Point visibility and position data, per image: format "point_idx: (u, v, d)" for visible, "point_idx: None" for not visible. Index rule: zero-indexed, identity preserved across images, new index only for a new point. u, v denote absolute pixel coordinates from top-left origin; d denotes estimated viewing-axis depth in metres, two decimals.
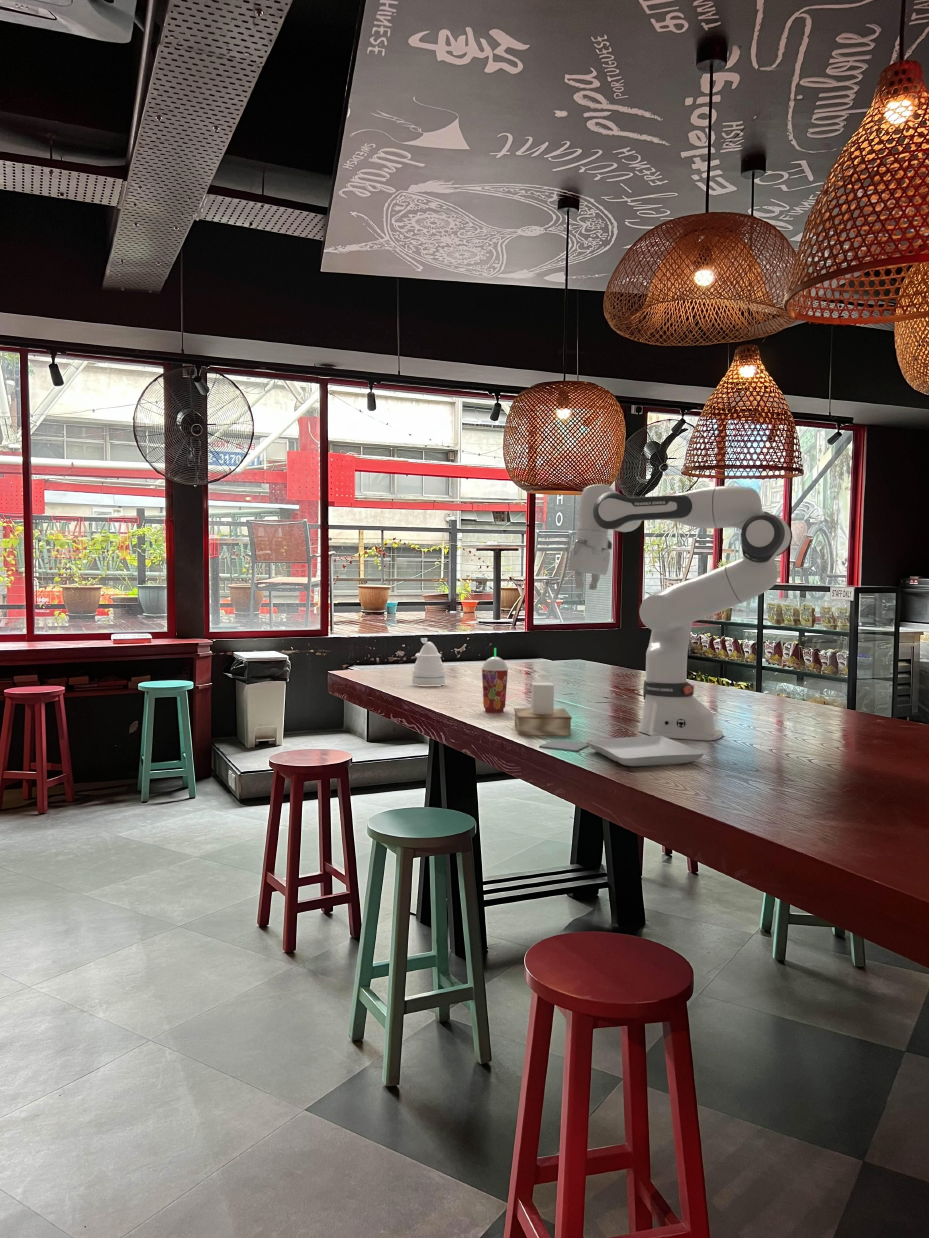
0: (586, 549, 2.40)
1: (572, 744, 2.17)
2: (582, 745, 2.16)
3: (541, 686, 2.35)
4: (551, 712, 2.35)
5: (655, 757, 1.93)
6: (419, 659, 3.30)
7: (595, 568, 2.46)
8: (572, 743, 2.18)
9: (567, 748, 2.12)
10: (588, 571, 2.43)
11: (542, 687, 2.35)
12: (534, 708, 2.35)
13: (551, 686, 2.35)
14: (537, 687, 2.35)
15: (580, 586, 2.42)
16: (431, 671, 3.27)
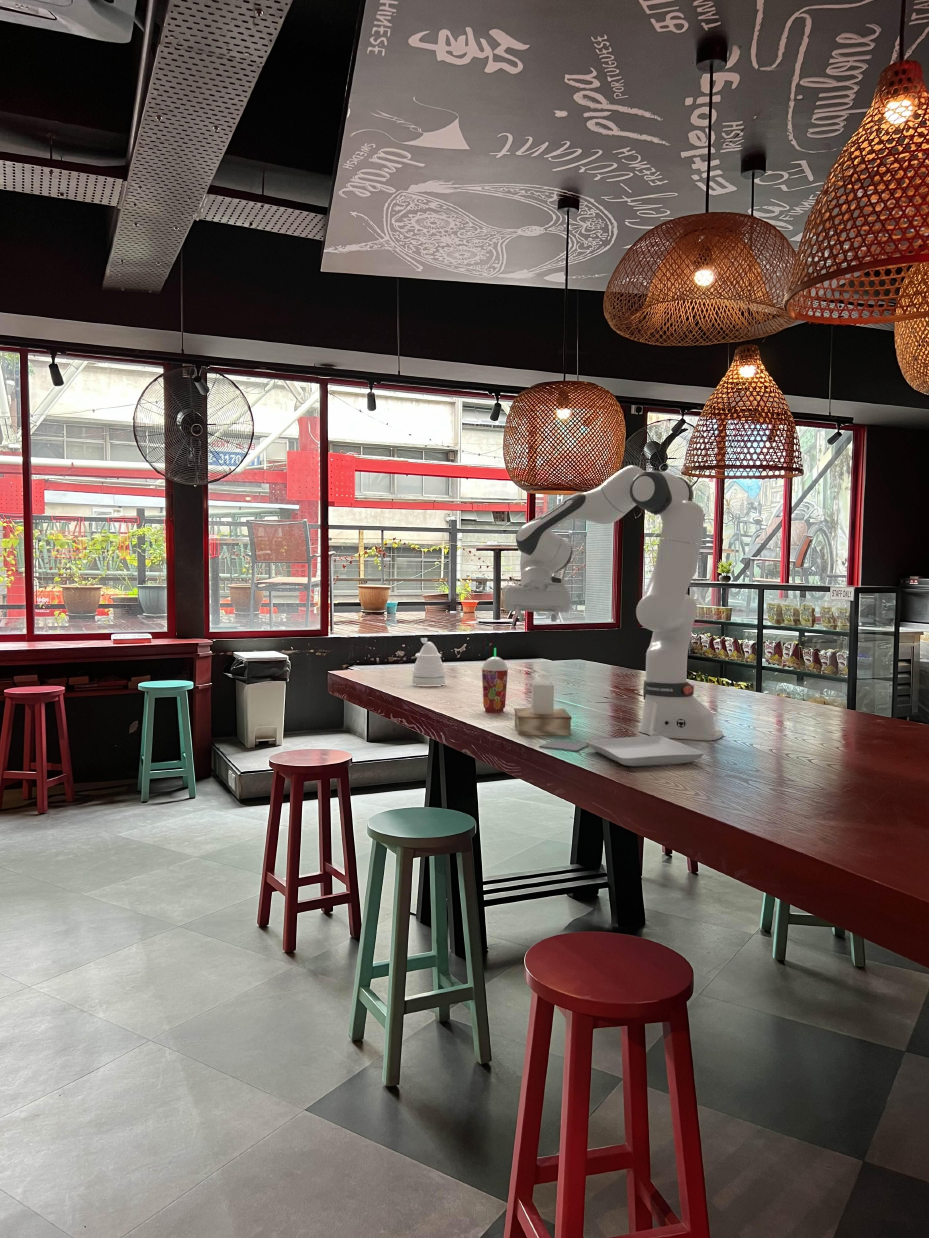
0: (514, 587, 2.58)
1: (572, 744, 2.17)
2: (582, 745, 2.16)
3: (541, 686, 2.35)
4: (551, 712, 2.35)
5: (655, 757, 1.93)
6: (419, 659, 3.30)
7: (539, 600, 2.55)
8: (572, 743, 2.18)
9: (567, 748, 2.12)
10: (526, 603, 2.54)
11: (542, 687, 2.35)
12: (534, 708, 2.35)
13: (551, 686, 2.35)
14: (537, 687, 2.35)
15: (519, 616, 2.52)
16: (431, 671, 3.27)
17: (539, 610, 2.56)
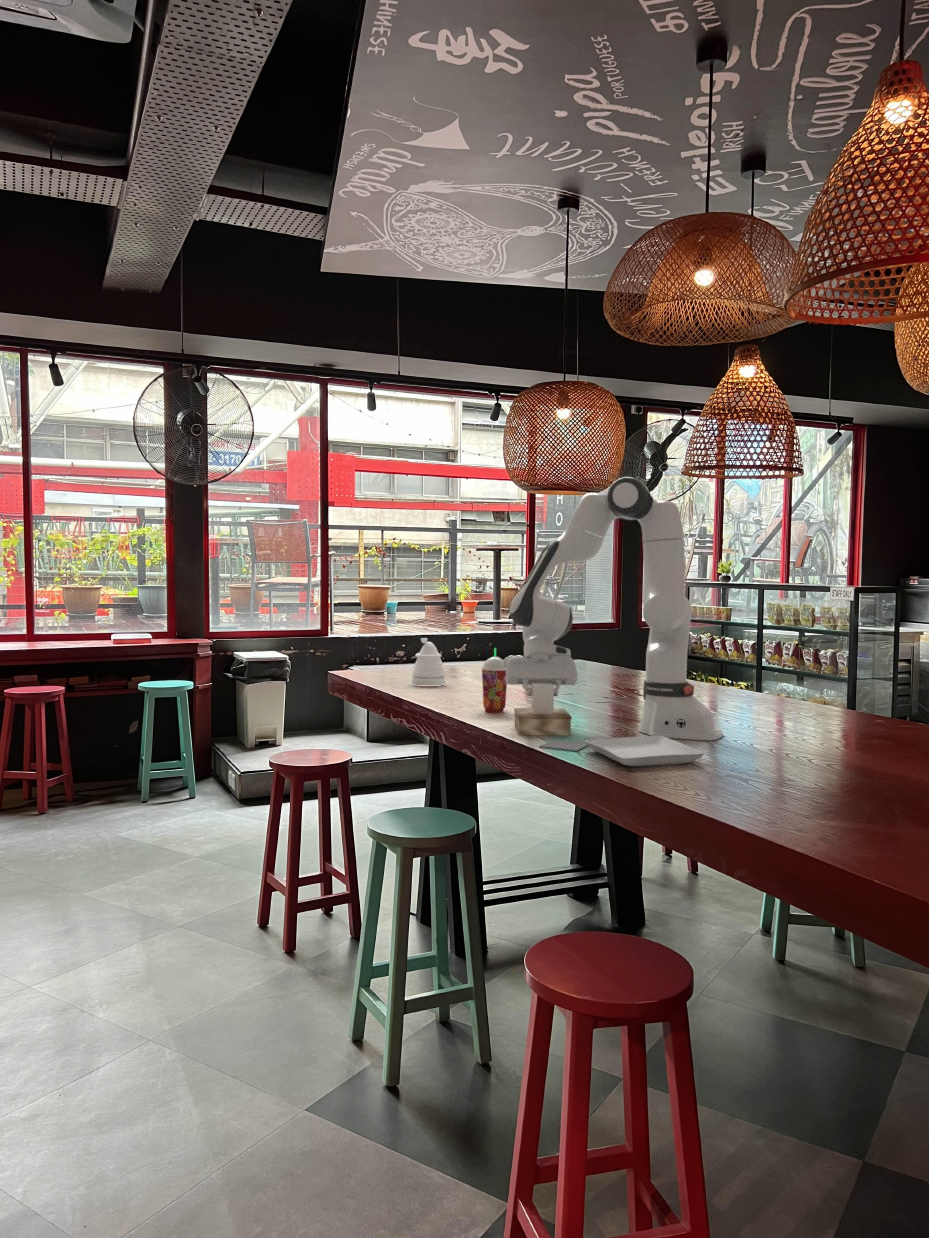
0: (517, 659, 2.43)
1: (572, 744, 2.17)
2: (582, 745, 2.16)
3: (541, 686, 2.35)
4: (551, 712, 2.35)
5: (655, 757, 1.93)
6: (419, 659, 3.30)
7: (544, 673, 2.40)
8: (572, 743, 2.18)
9: (567, 748, 2.12)
10: (529, 676, 2.39)
11: (542, 687, 2.35)
12: (534, 708, 2.35)
13: (551, 686, 2.35)
14: (537, 687, 2.35)
15: (527, 691, 2.37)
16: (431, 671, 3.27)
17: None
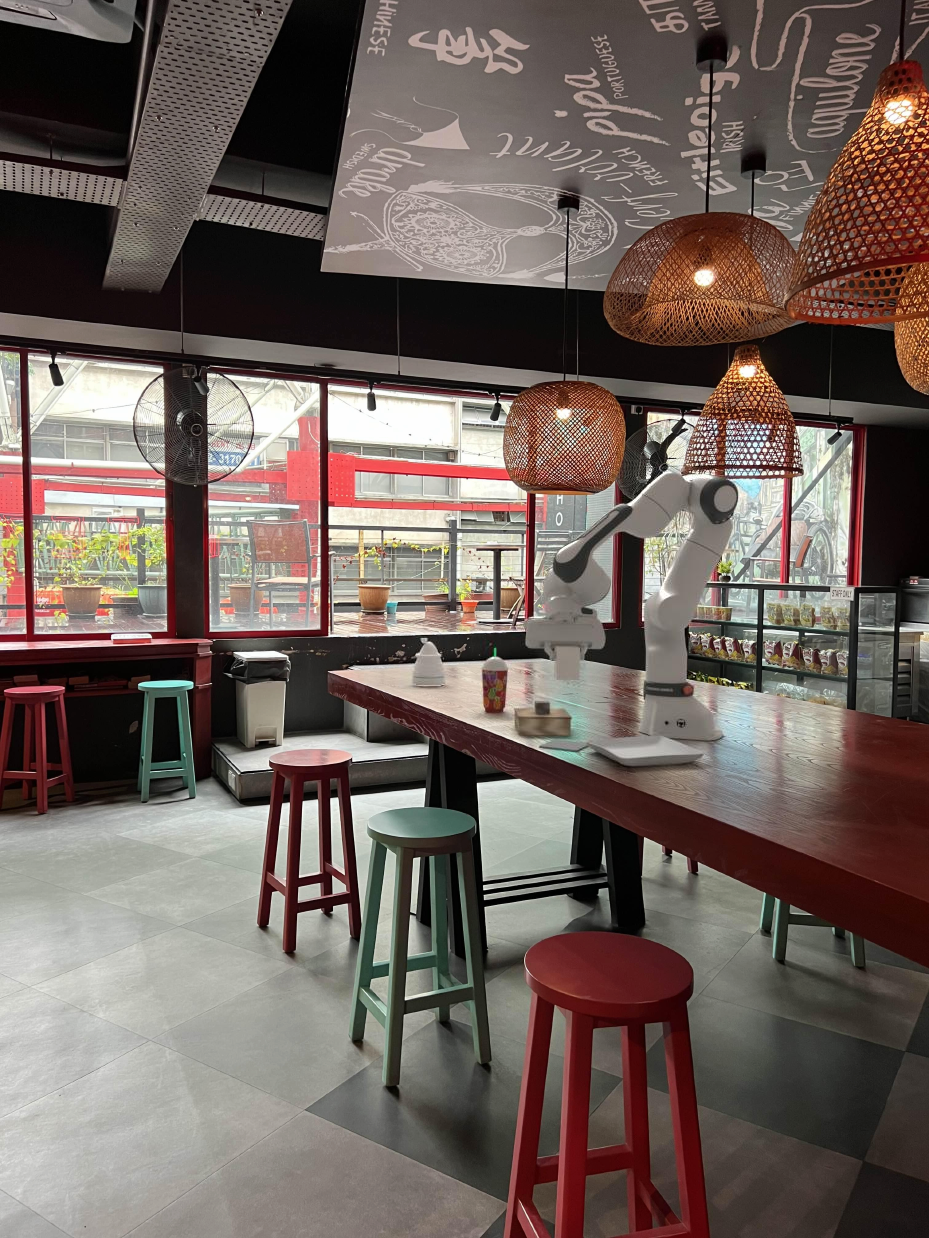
0: (538, 620, 2.21)
1: (572, 744, 2.17)
2: (582, 745, 2.16)
3: (566, 649, 2.13)
4: (577, 678, 2.13)
5: (655, 757, 1.93)
6: (419, 659, 3.30)
7: (568, 635, 2.18)
8: (572, 743, 2.18)
9: (567, 748, 2.12)
10: (552, 639, 2.17)
11: (567, 650, 2.13)
12: (558, 673, 2.13)
13: (577, 649, 2.13)
14: (561, 650, 2.13)
15: (550, 655, 2.15)
16: (431, 671, 3.27)
17: None
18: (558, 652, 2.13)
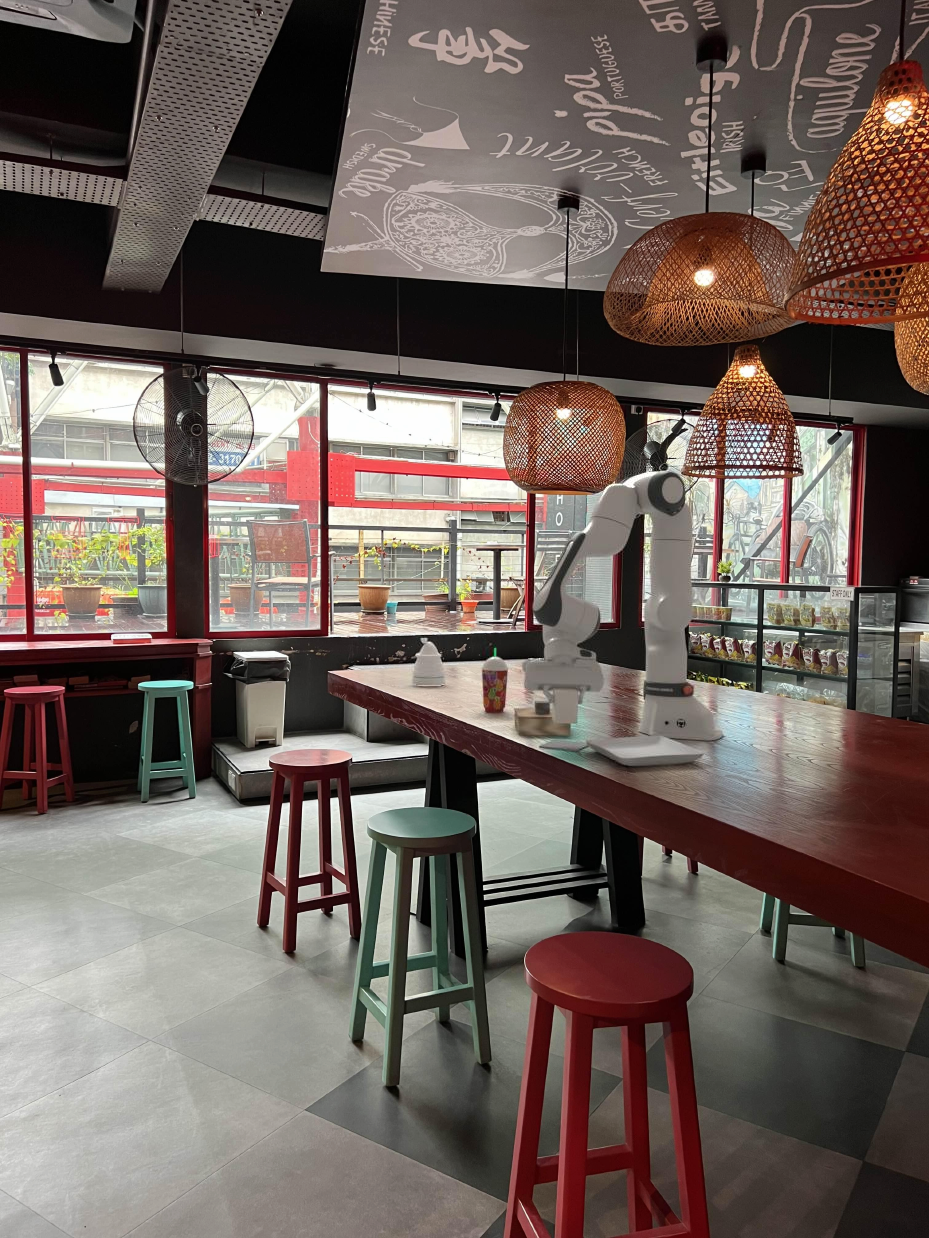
0: (537, 662, 2.21)
1: (572, 744, 2.17)
2: (582, 745, 2.16)
3: (564, 693, 2.13)
4: (575, 721, 2.14)
5: (655, 757, 1.93)
6: (419, 659, 3.30)
7: (567, 678, 2.18)
8: (572, 743, 2.18)
9: (567, 748, 2.12)
10: (551, 681, 2.17)
11: (565, 694, 2.13)
12: (556, 717, 2.13)
13: (575, 693, 2.13)
14: (560, 694, 2.13)
15: (548, 698, 2.15)
16: (431, 671, 3.27)
17: None
18: (556, 696, 2.13)
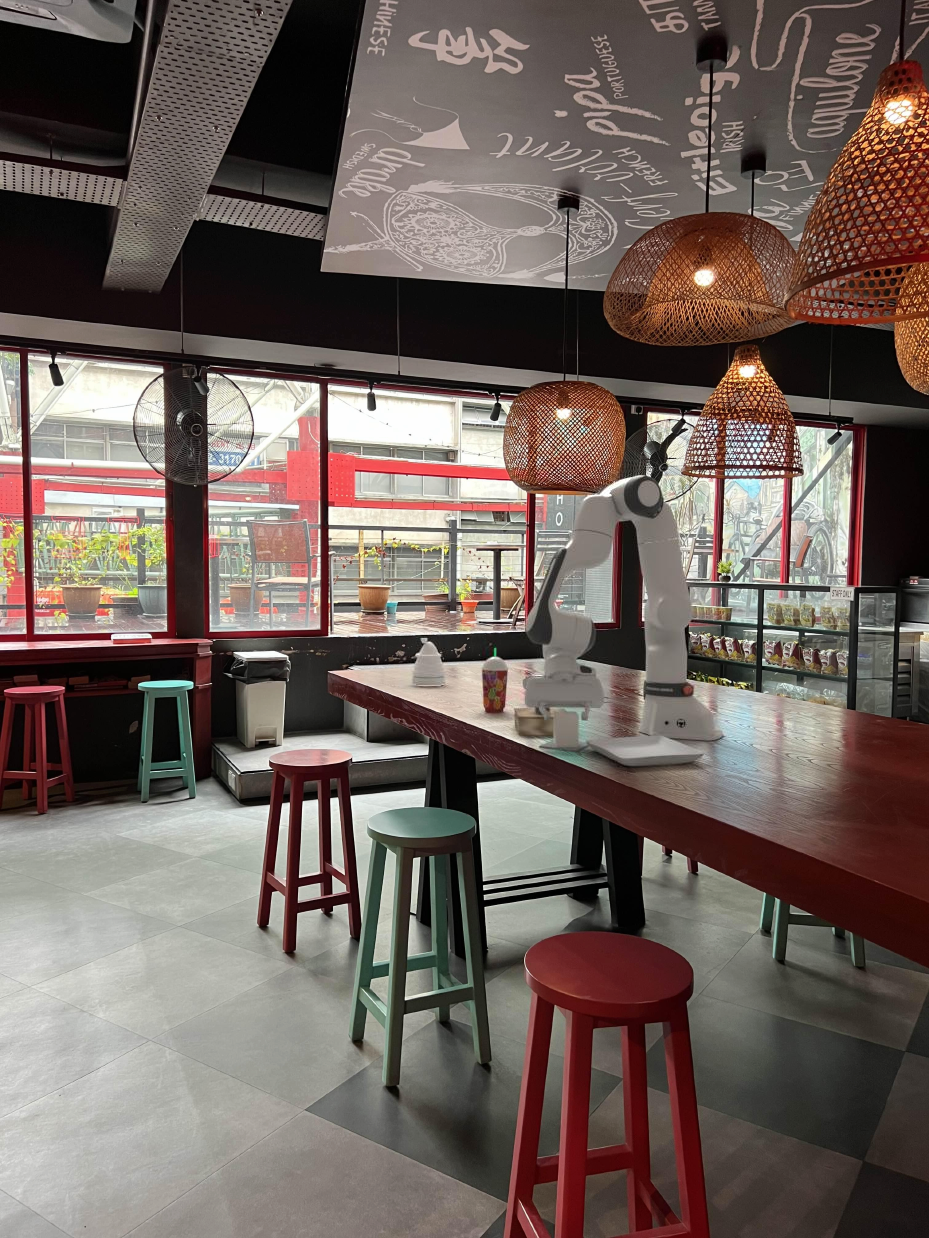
0: (537, 679, 2.22)
1: None
2: (582, 745, 2.16)
3: (565, 716, 2.13)
4: (576, 745, 2.14)
5: (655, 757, 1.93)
6: (419, 659, 3.30)
7: (567, 694, 2.19)
8: None
9: (567, 748, 2.12)
10: (552, 698, 2.18)
11: (566, 717, 2.13)
12: (557, 740, 2.14)
13: (576, 716, 2.13)
14: (560, 717, 2.13)
15: (544, 715, 2.16)
16: (431, 671, 3.27)
17: (567, 706, 2.20)
18: (557, 719, 2.13)
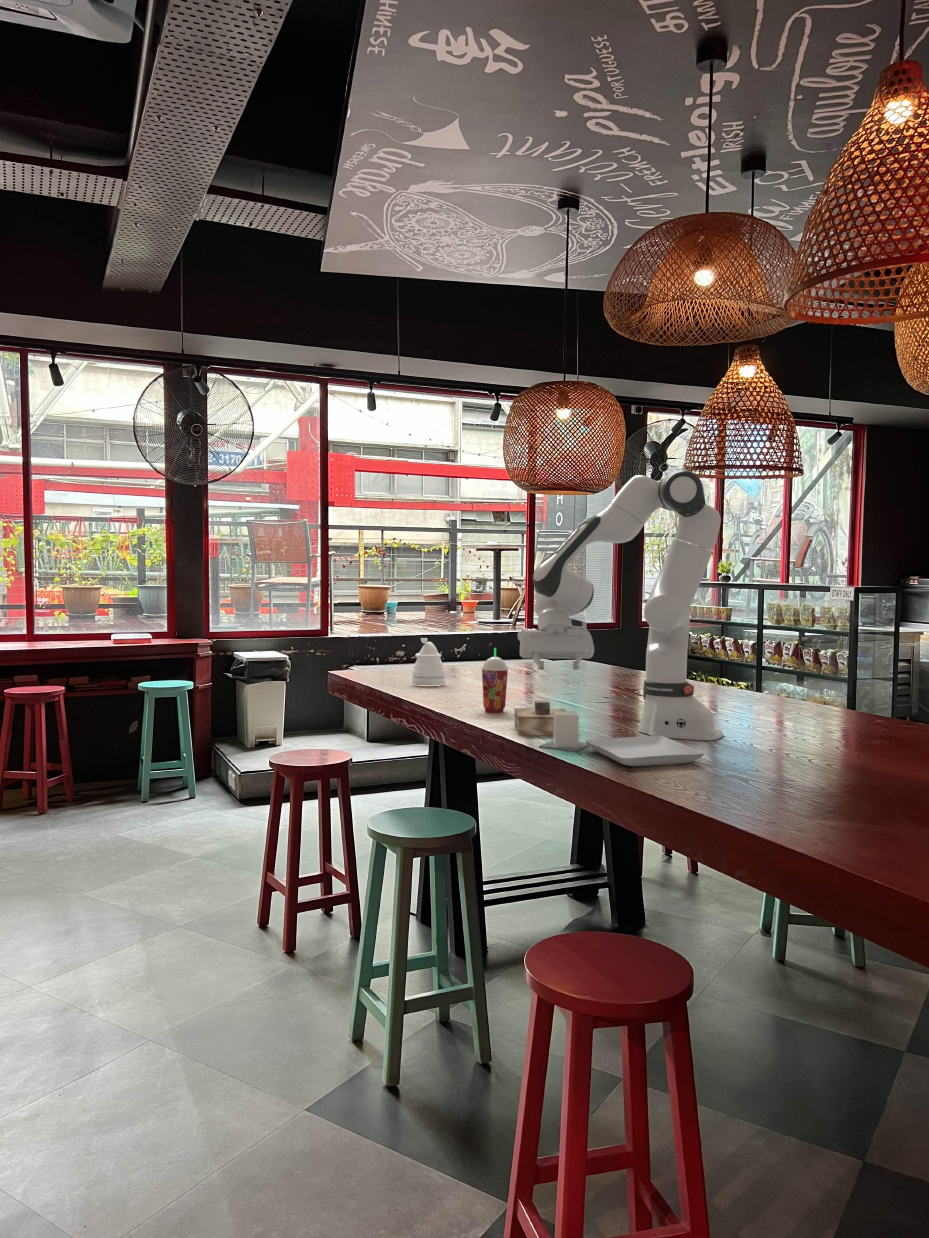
0: (531, 632, 2.36)
1: None
2: (582, 745, 2.16)
3: (565, 716, 2.13)
4: (576, 745, 2.14)
5: (655, 757, 1.93)
6: (419, 659, 3.30)
7: (560, 646, 2.33)
8: None
9: (567, 748, 2.12)
10: (545, 649, 2.32)
11: (566, 717, 2.13)
12: (557, 740, 2.14)
13: (576, 716, 2.13)
14: (560, 717, 2.13)
15: (538, 664, 2.30)
16: (431, 671, 3.27)
17: (559, 657, 2.34)
18: (557, 719, 2.13)
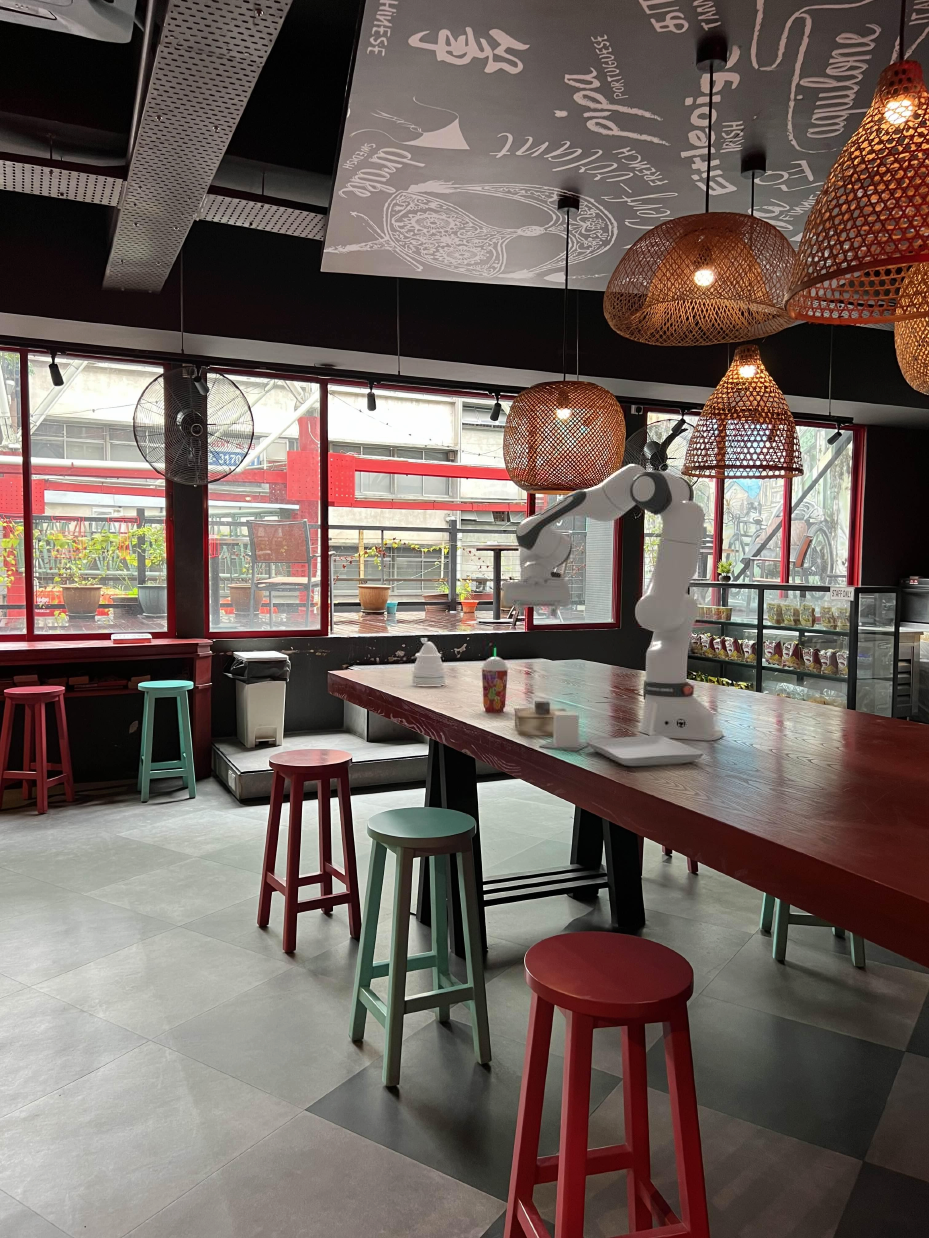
0: (514, 583, 2.58)
1: None
2: (582, 745, 2.16)
3: (565, 716, 2.13)
4: (576, 745, 2.14)
5: (655, 757, 1.93)
6: (419, 659, 3.30)
7: (539, 595, 2.55)
8: None
9: (567, 748, 2.12)
10: (526, 598, 2.54)
11: (566, 717, 2.13)
12: (557, 740, 2.14)
13: (576, 716, 2.13)
14: (560, 717, 2.13)
15: (519, 611, 2.52)
16: (431, 671, 3.27)
17: (539, 605, 2.56)
18: (557, 719, 2.13)
